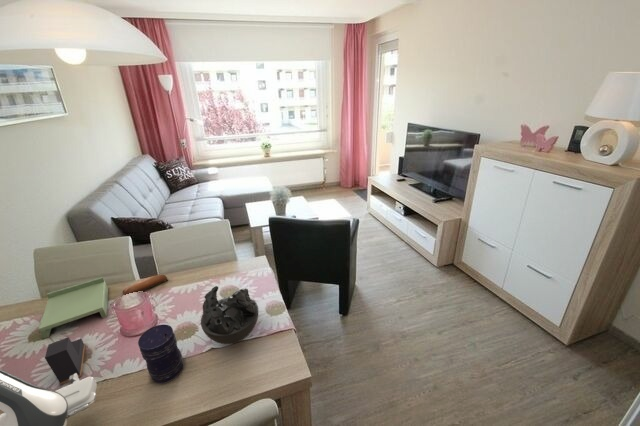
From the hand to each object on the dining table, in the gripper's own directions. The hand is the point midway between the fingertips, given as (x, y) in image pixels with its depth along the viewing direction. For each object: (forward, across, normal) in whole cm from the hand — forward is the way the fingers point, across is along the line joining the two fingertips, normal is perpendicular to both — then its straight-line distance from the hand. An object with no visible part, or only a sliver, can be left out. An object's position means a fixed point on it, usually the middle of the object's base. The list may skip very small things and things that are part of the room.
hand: (53, 384), depth 82 cm
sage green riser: (+49, +1, +10) cm, 50 cm away
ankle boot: (+18, 0, +10) cm, 20 cm away
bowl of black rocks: (-2, -50, +10) cm, 51 cm away
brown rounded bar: (+51, -24, +10) cm, 57 cm away
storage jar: (-4, -27, +10) cm, 29 cm away
